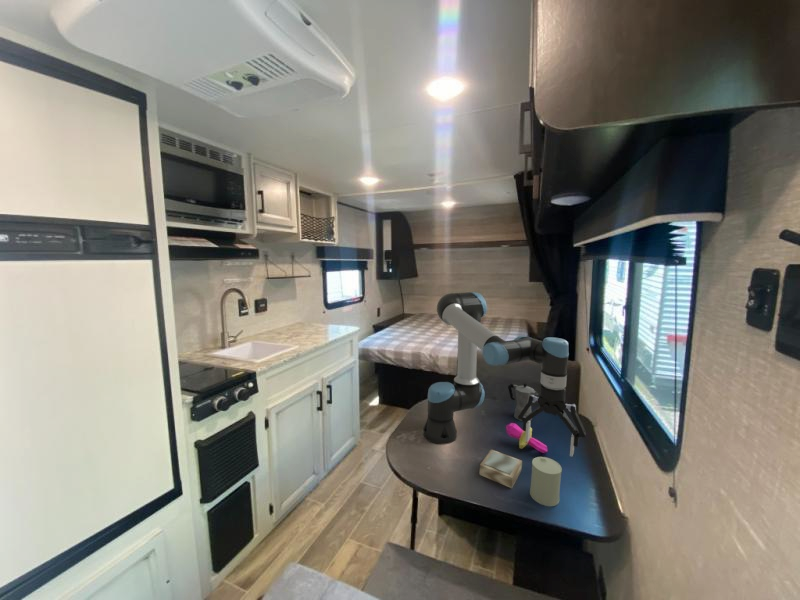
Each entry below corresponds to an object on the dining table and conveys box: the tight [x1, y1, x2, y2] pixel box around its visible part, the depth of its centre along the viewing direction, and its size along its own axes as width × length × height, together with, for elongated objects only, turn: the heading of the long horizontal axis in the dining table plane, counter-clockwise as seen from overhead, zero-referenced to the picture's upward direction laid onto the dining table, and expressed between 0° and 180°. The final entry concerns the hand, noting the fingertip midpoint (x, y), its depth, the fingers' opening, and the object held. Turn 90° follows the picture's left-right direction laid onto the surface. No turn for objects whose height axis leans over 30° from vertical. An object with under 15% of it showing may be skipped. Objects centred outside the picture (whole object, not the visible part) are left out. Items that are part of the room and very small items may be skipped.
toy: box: [505, 422, 548, 454], centre depth 136 cm, size 10×18×10 cm, turn 54°
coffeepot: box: [507, 382, 539, 422], centre depth 162 cm, size 15×9×18 cm, turn 44°
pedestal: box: [478, 449, 523, 489], centre depth 120 cm, size 12×12×4 cm
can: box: [529, 456, 563, 507], centre depth 108 cm, size 9×9×12 cm
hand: (548, 447), depth 106 cm, fingers open, 13 cm apart
